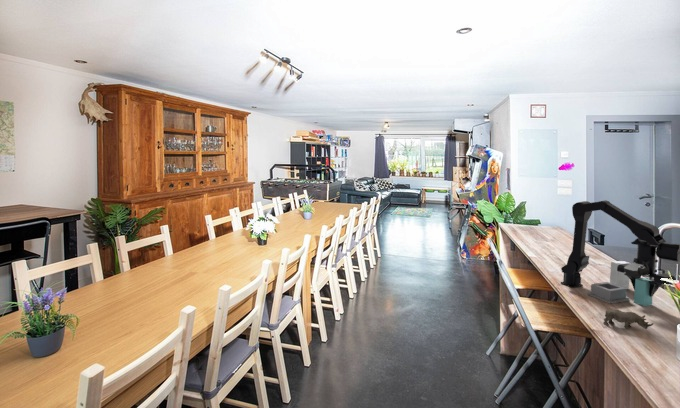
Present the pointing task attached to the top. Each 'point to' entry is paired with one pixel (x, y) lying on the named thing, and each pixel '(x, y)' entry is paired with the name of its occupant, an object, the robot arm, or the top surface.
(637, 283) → the teal peg
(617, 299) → the socket block
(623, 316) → the rhino figurine
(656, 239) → the robot arm
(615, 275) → the skincare box
